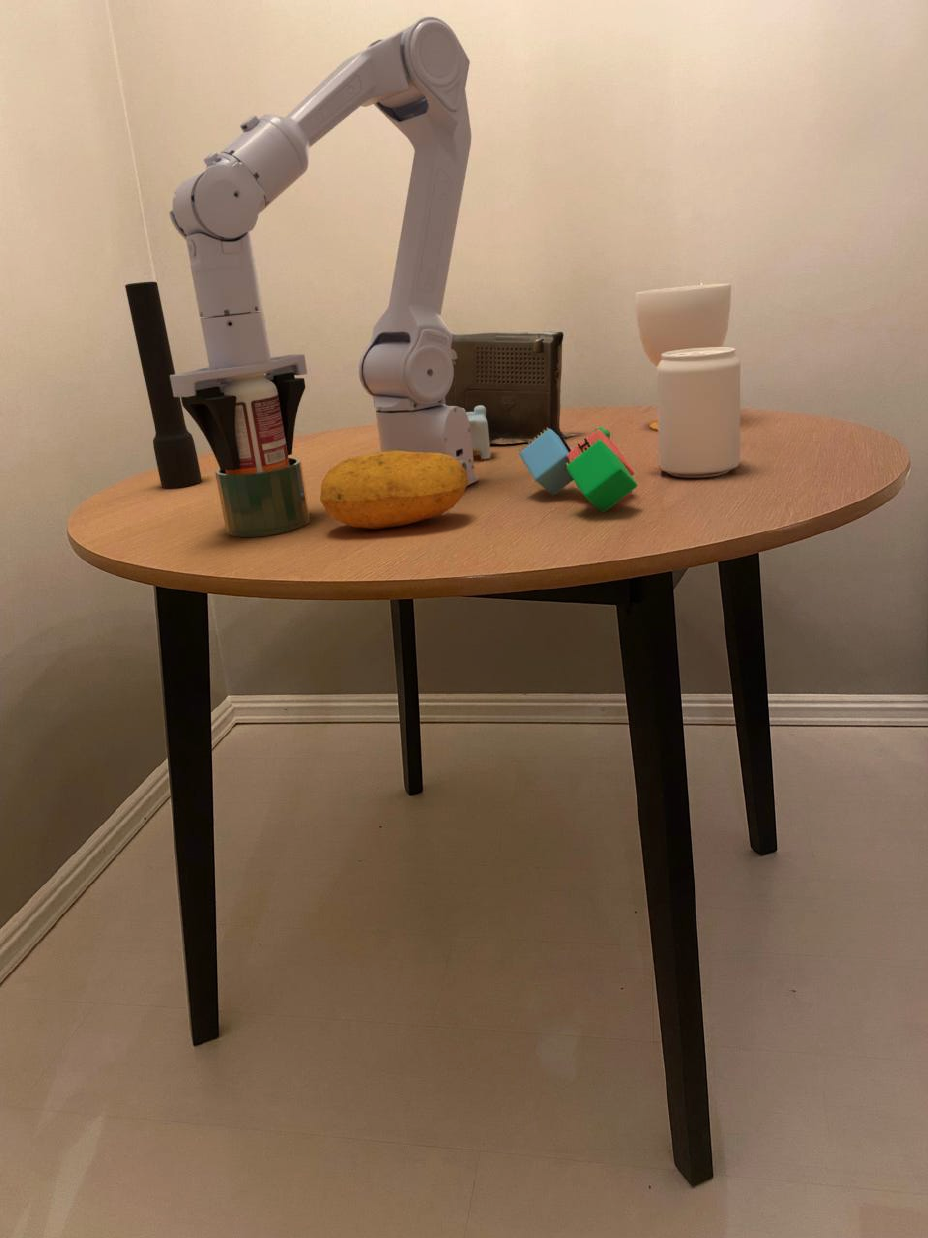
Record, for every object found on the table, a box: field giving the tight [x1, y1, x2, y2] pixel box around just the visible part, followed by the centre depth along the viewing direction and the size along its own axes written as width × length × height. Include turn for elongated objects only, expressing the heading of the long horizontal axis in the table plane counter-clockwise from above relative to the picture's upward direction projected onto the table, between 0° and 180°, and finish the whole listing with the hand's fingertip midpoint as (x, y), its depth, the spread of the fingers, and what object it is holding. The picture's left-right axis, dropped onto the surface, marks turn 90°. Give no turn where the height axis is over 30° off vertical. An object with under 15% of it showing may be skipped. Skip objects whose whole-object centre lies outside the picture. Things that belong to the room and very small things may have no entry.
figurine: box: [462, 406, 491, 460], centre depth 116 cm, size 4×8×6 cm, turn 4°
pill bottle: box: [219, 371, 290, 475], centre depth 89 cm, size 6×6×11 cm
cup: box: [634, 283, 732, 431], centre depth 121 cm, size 12×12×17 cm
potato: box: [319, 450, 468, 530], centre depth 87 cm, size 8×14×7 cm, turn 89°
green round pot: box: [214, 456, 311, 538], centre depth 92 cm, size 8×8×6 cm
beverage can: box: [656, 346, 741, 479], centre depth 95 cm, size 8×8×12 cm
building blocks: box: [518, 426, 638, 513], centre depth 89 cm, size 8×8×12 cm
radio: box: [445, 330, 579, 445], centre depth 124 cm, size 23×9×15 cm, turn 60°
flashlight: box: [124, 281, 203, 489], centre depth 115 cm, size 5×24×5 cm
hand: (257, 461), depth 91 cm, fingers closed on pill bottle, 6 cm apart
